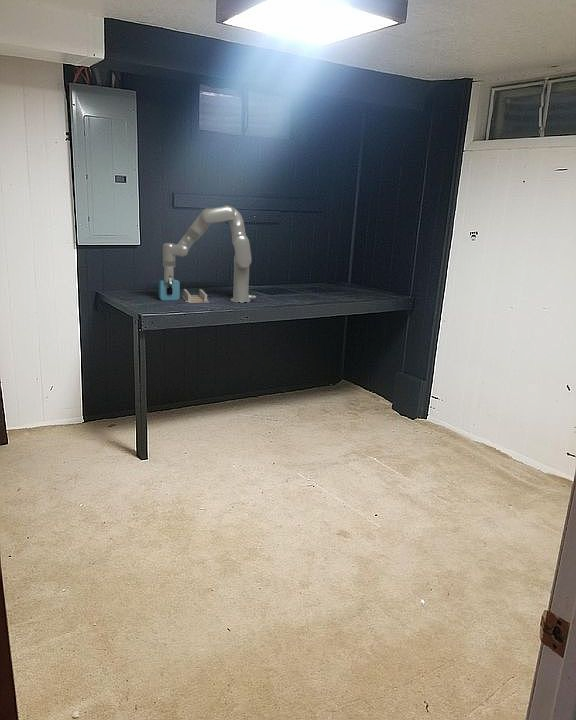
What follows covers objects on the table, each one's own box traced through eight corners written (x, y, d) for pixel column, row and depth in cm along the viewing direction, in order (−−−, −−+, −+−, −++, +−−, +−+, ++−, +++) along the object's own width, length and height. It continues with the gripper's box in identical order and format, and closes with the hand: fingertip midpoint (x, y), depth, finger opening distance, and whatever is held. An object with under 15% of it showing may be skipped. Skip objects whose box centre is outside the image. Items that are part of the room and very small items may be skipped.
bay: (181, 296, 373) (181, 289, 371) (203, 296, 377) (203, 289, 376) (186, 302, 355) (186, 294, 353) (209, 302, 359) (209, 295, 358)
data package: (177, 298, 366) (177, 279, 362) (179, 300, 362) (179, 280, 358) (158, 299, 360) (158, 279, 357) (160, 300, 356) (160, 281, 353)
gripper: (161, 261, 361) (161, 291, 367) (164, 265, 346) (164, 296, 351) (173, 262, 364) (173, 291, 369) (177, 266, 348) (177, 296, 353)
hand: (169, 293), depth 360 cm, fingers closed on data package, 5 cm apart
